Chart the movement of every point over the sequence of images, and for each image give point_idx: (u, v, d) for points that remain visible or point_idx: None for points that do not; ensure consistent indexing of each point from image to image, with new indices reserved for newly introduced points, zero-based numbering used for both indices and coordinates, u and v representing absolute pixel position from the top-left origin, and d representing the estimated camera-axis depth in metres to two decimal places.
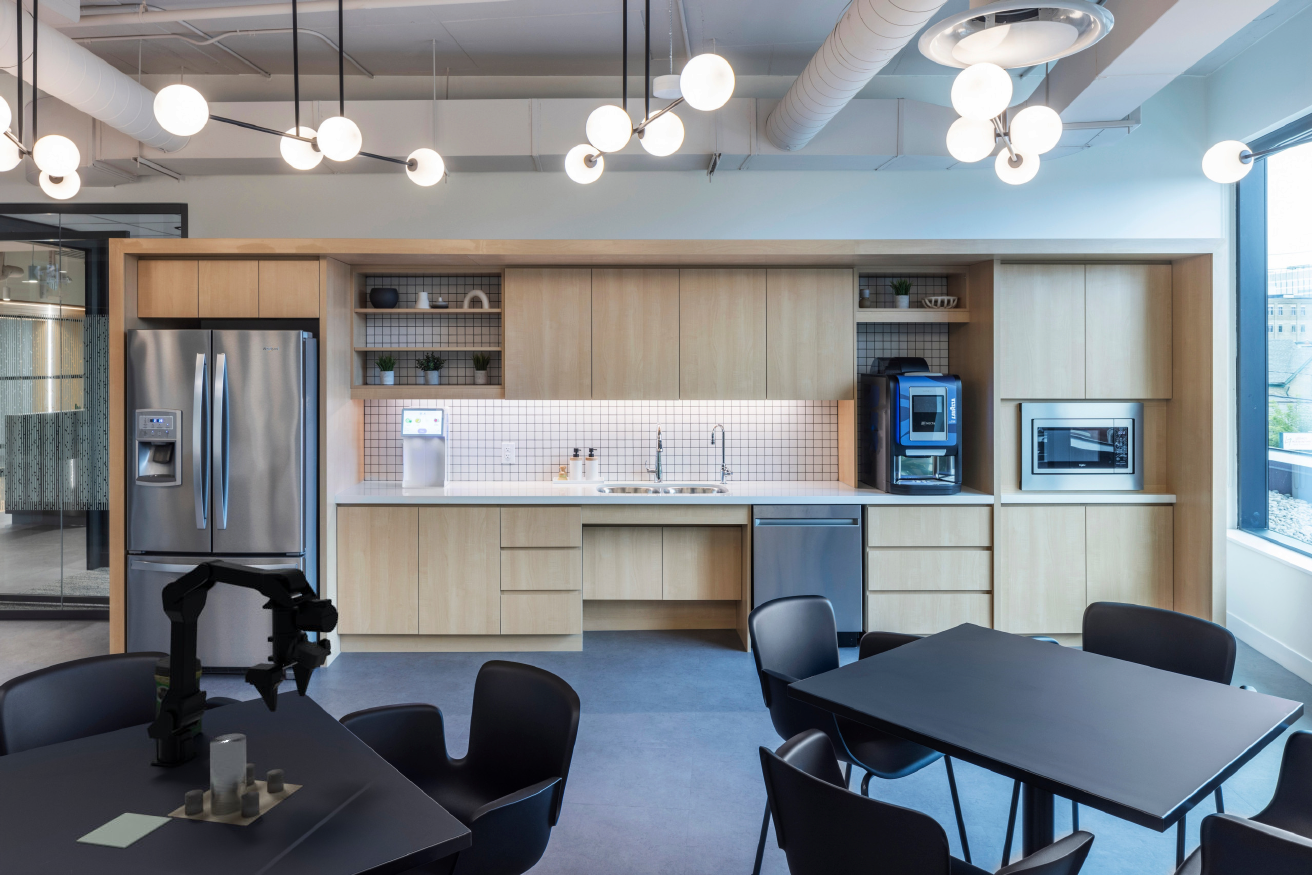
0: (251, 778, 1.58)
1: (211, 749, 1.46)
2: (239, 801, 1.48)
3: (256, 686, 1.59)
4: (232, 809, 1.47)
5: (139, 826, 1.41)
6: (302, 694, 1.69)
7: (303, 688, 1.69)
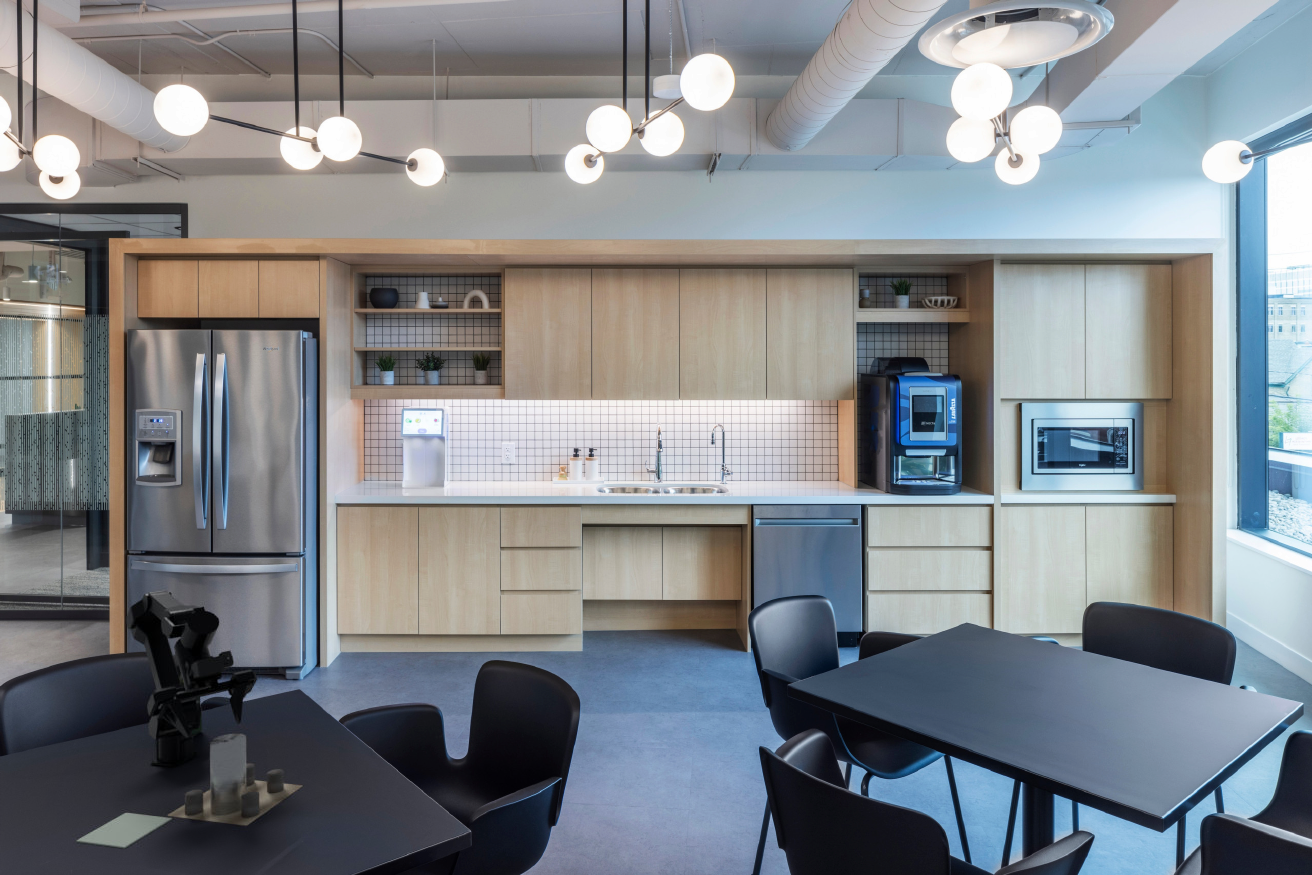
0: (251, 778, 1.58)
1: (211, 749, 1.46)
2: (239, 801, 1.48)
3: (167, 719, 1.53)
4: (232, 809, 1.47)
5: (139, 826, 1.41)
6: (238, 720, 1.57)
7: (236, 714, 1.58)
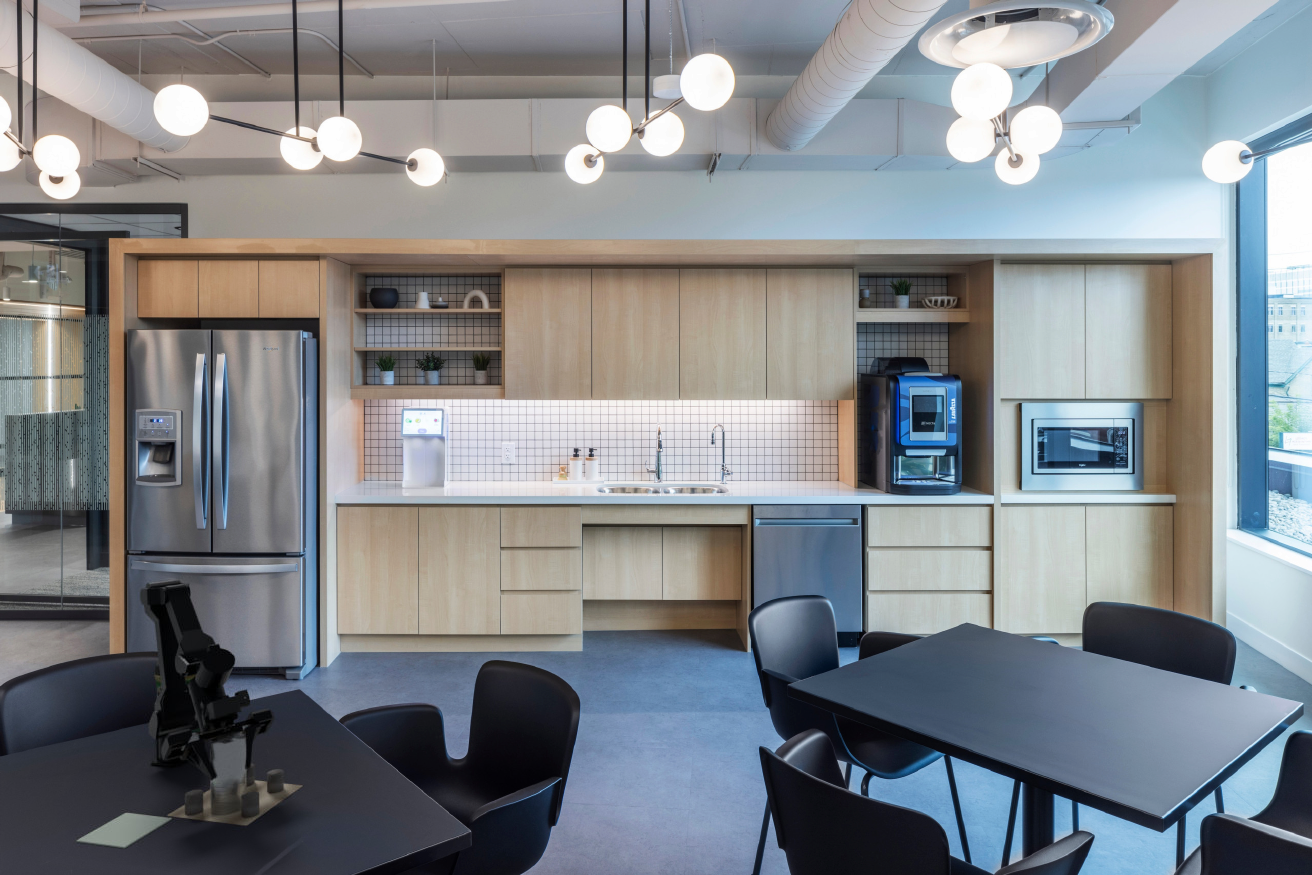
0: (251, 778, 1.58)
1: (211, 749, 1.46)
2: (239, 801, 1.48)
3: (190, 760, 1.48)
4: (232, 809, 1.47)
5: (139, 826, 1.41)
6: (247, 765, 1.50)
7: (246, 758, 1.51)
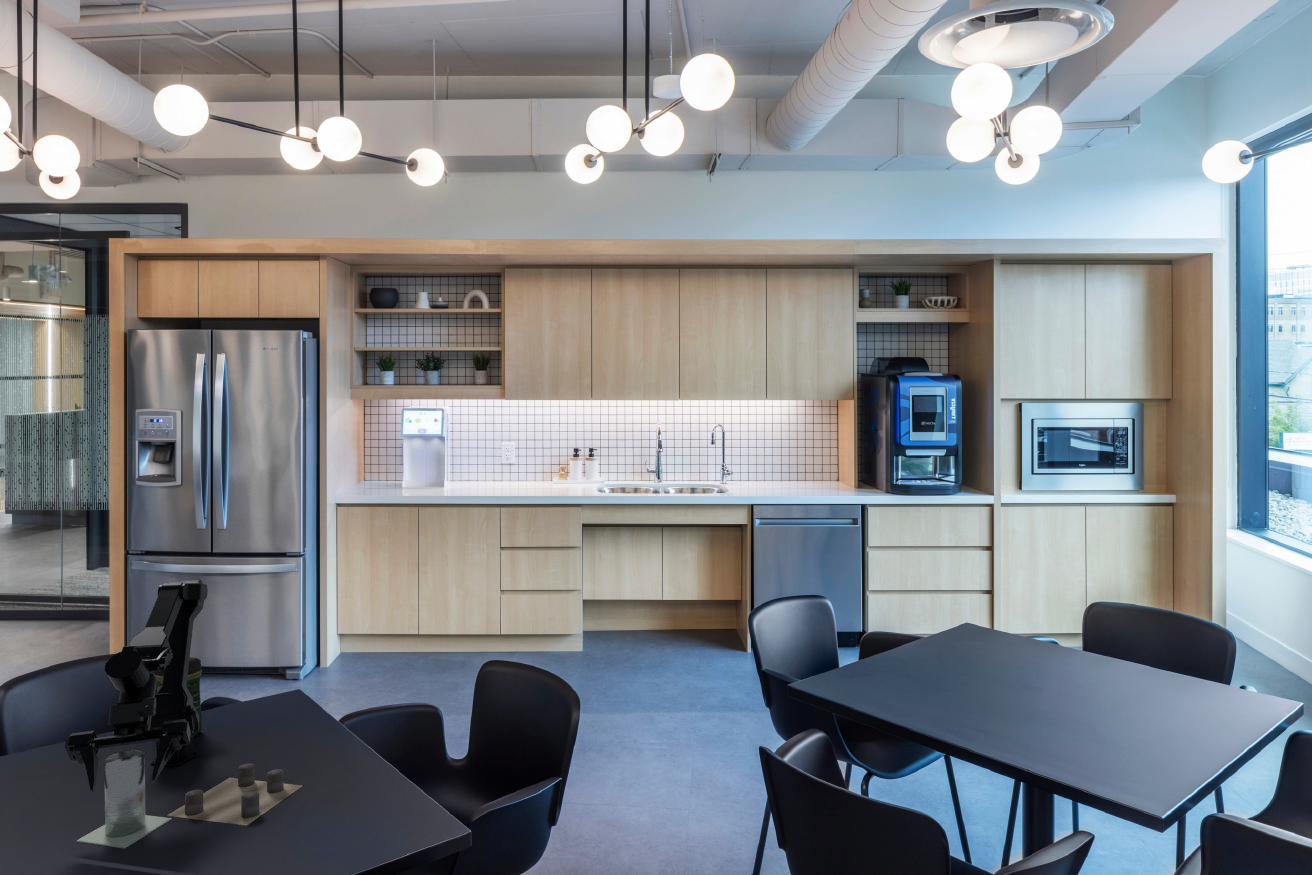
0: (251, 778, 1.58)
1: None
2: (128, 825, 1.38)
3: None
4: (119, 832, 1.38)
5: None
6: None
7: None
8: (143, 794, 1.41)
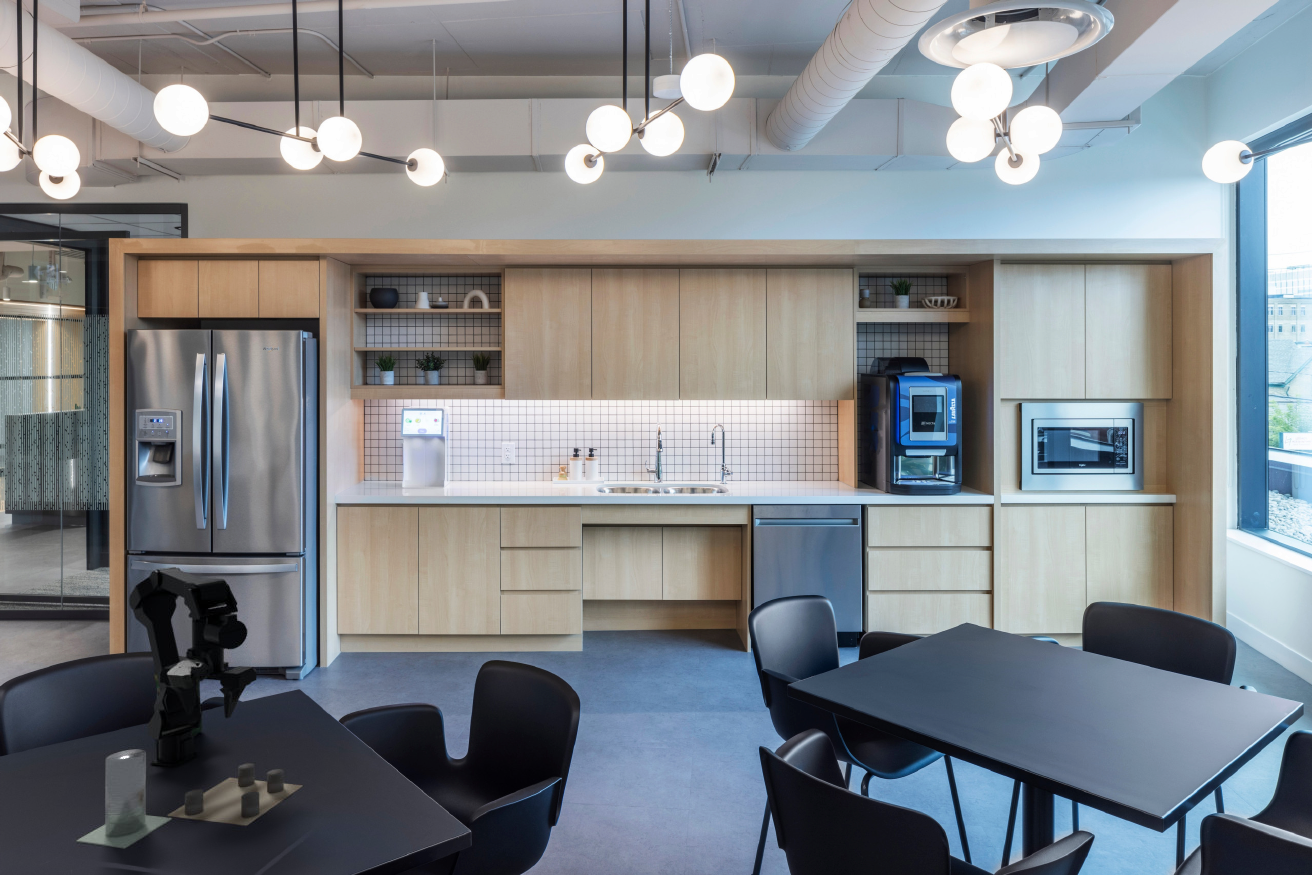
0: (251, 778, 1.58)
1: None
2: (127, 824, 1.38)
3: None
4: (119, 832, 1.38)
5: None
6: None
7: None
8: (143, 794, 1.41)
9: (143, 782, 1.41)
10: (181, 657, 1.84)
